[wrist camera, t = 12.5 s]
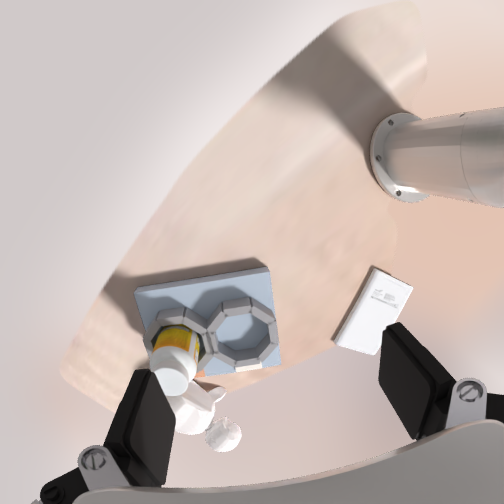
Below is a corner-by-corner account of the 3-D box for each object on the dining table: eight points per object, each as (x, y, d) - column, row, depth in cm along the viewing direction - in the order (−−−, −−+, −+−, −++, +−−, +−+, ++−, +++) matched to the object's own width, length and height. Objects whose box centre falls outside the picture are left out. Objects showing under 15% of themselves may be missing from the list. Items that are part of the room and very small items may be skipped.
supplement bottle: (208, 341, 37) (205, 389, 27) (177, 359, 37) (167, 407, 28) (182, 311, 35) (171, 354, 26) (151, 331, 36) (133, 375, 26)
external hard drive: (331, 339, 42) (372, 266, 39) (371, 350, 43) (409, 284, 41) (335, 344, 40) (377, 269, 38) (375, 356, 42) (415, 288, 39)
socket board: (267, 266, 37) (273, 278, 33) (278, 356, 41) (284, 375, 36) (137, 287, 36) (128, 301, 32) (165, 372, 40) (161, 391, 35)
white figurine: (160, 386, 44) (230, 439, 42) (134, 409, 36) (214, 470, 34) (183, 354, 43) (260, 412, 41) (156, 376, 34) (247, 444, 32)
